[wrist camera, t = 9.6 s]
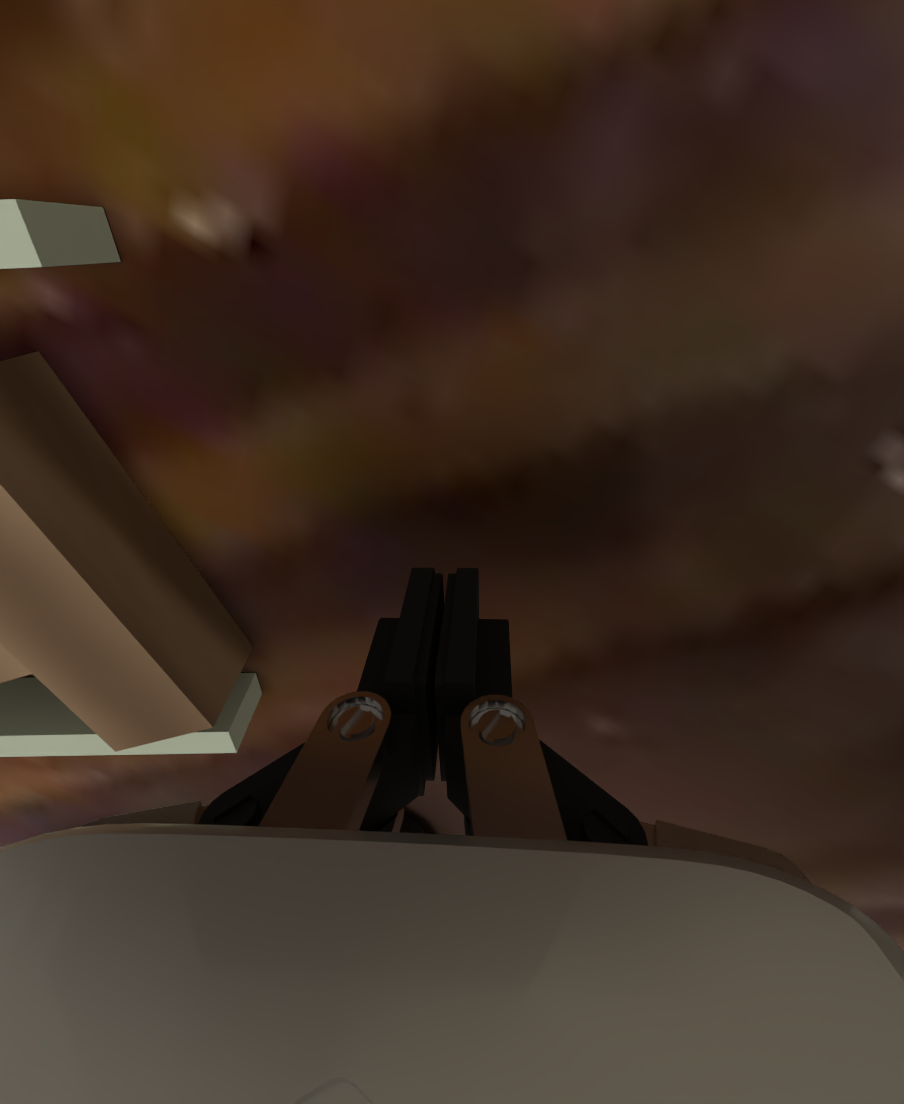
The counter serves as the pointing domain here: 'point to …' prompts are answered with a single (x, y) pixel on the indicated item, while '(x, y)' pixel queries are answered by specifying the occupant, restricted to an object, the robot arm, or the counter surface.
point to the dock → (26, 703)
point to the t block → (100, 579)
